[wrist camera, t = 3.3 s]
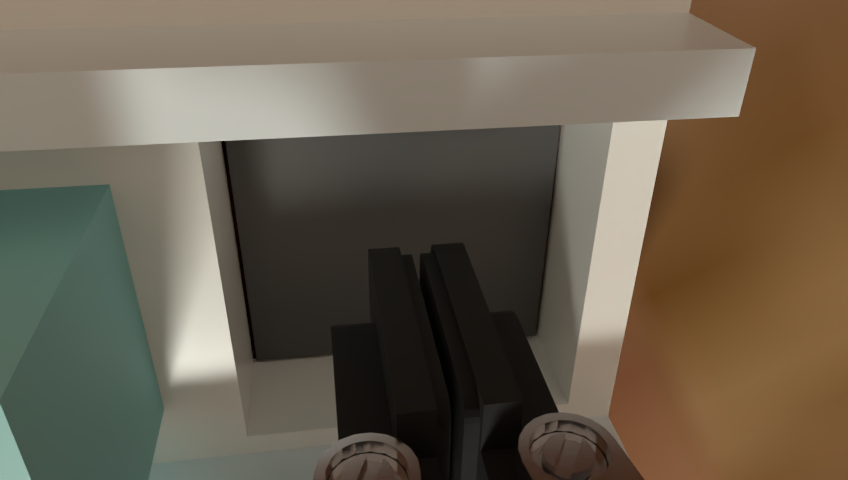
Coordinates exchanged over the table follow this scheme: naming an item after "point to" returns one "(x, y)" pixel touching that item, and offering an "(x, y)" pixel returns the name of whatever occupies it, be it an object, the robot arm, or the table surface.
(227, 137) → the deck
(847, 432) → the table surface
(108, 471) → the block
